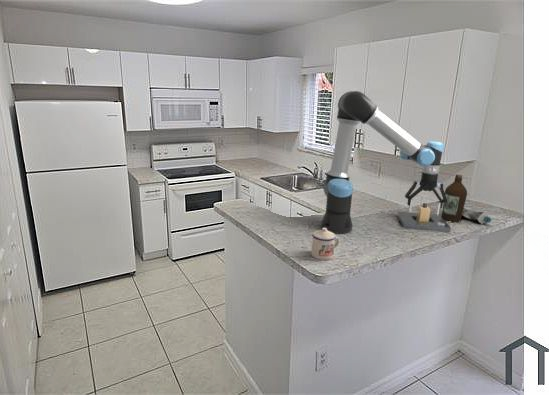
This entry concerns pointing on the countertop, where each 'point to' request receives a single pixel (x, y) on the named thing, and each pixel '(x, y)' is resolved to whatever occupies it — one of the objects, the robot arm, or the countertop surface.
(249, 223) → the countertop surface
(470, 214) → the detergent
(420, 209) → the plug
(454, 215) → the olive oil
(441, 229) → the socket plate
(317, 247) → the teacup with lid
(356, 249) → the countertop surface
